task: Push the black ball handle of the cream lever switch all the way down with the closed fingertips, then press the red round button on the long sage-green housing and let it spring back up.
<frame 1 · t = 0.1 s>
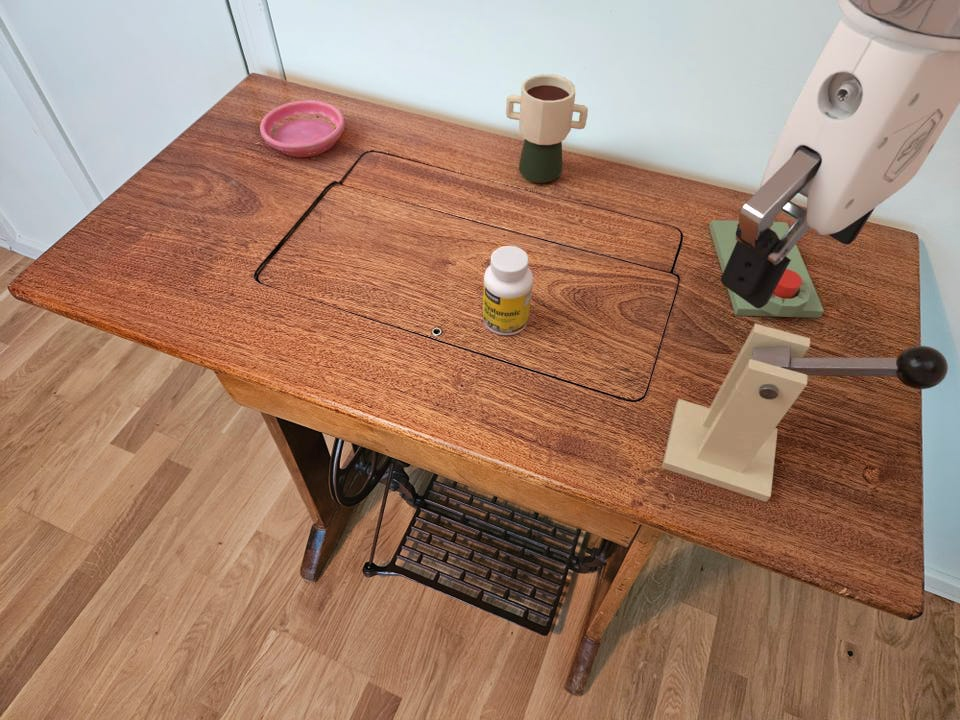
hand: (787, 262, 41), 26 cm above the table, tool pointing down, fingers open, 9 cm apart
supplement bottle: (505, 320, 73), on the table
button: (784, 283, 72), point 3 cm above the table, slide at 0.1 cm
button box: (760, 269, 78), on the table
switch bracket: (718, 451, 62), on the table
lever: (843, 366, 48), point 16 cm above the table, hinge at 25.0°
saucer: (306, 141, 95), on the table
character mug: (539, 174, 90), on the table
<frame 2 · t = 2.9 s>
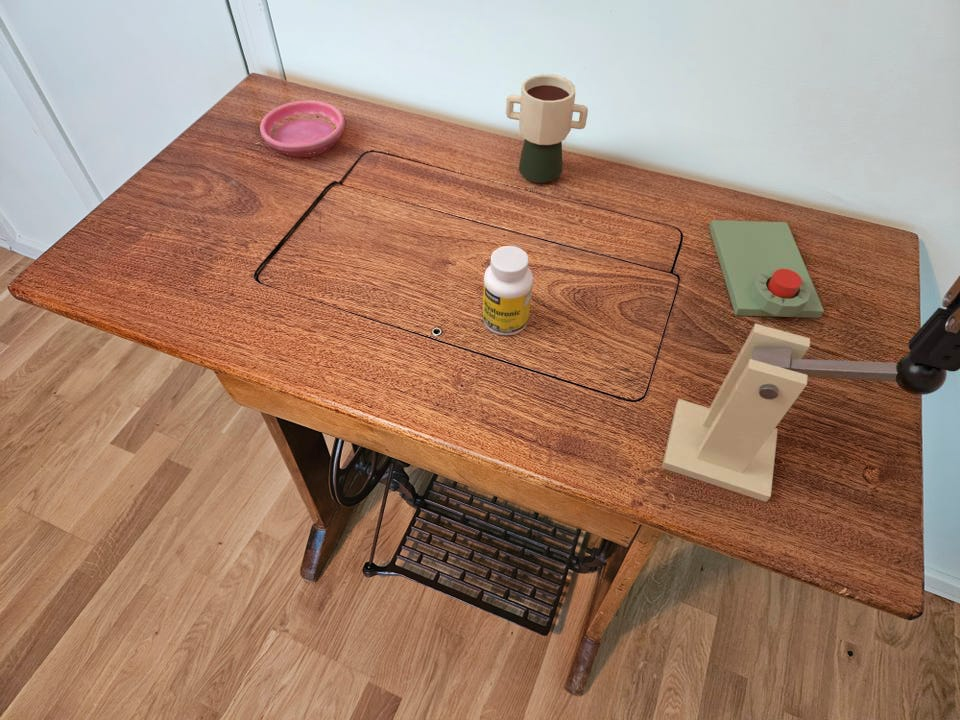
hand: (930, 357, 45), 19 cm above the table, tool pointing down, fingers closed
lever: (843, 369, 48), point 16 cm above the table, hinge at 21.1°
everything else where it was.
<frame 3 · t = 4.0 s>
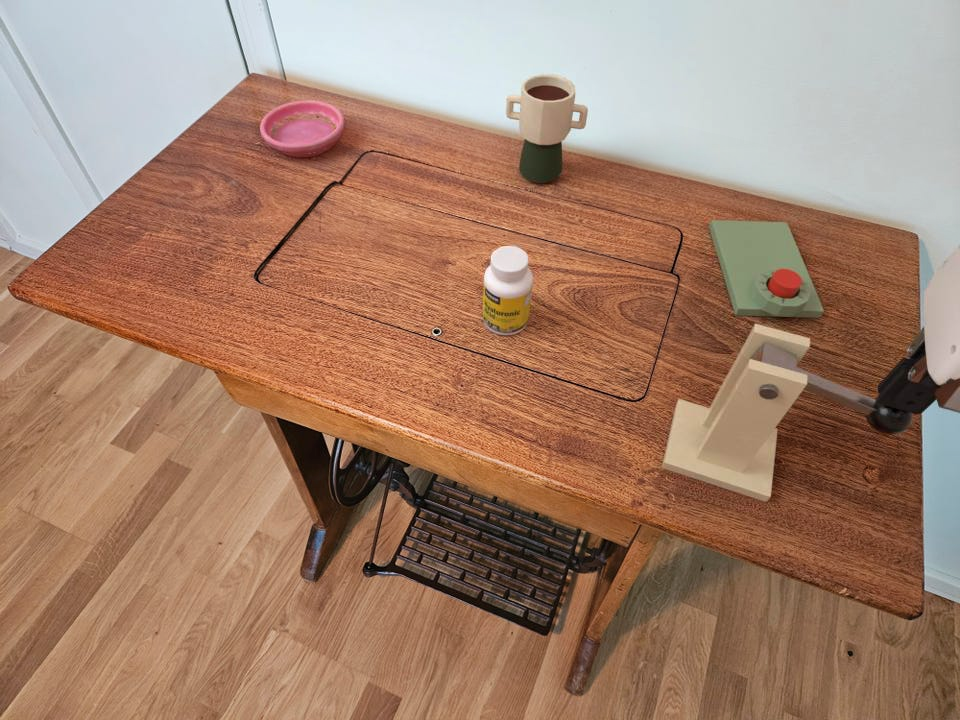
hand: (897, 400, 49), 14 cm above the table, tool pointing down, fingers closed
lever: (831, 390, 51), point 13 cm above the table, hinge at -10.2°, touching gripper
everything else where it was.
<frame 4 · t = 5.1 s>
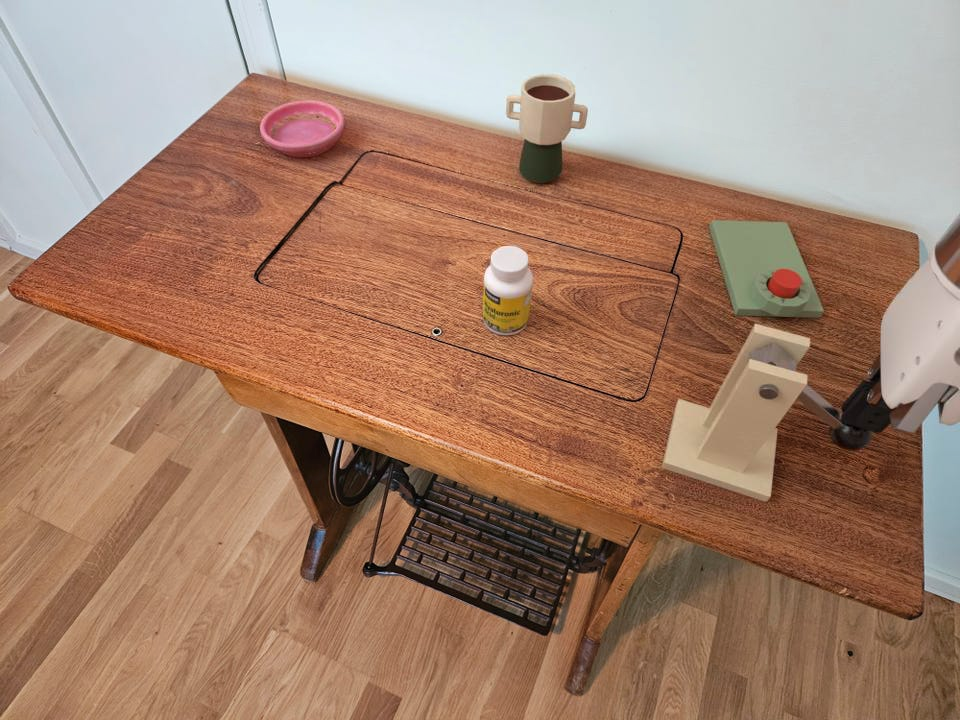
hand: (860, 419, 52), 10 cm above the table, tool pointing down, fingers closed
lever: (812, 400, 52), point 11 cm above the table, hinge at -31.8°, touching gripper
everything else where it was.
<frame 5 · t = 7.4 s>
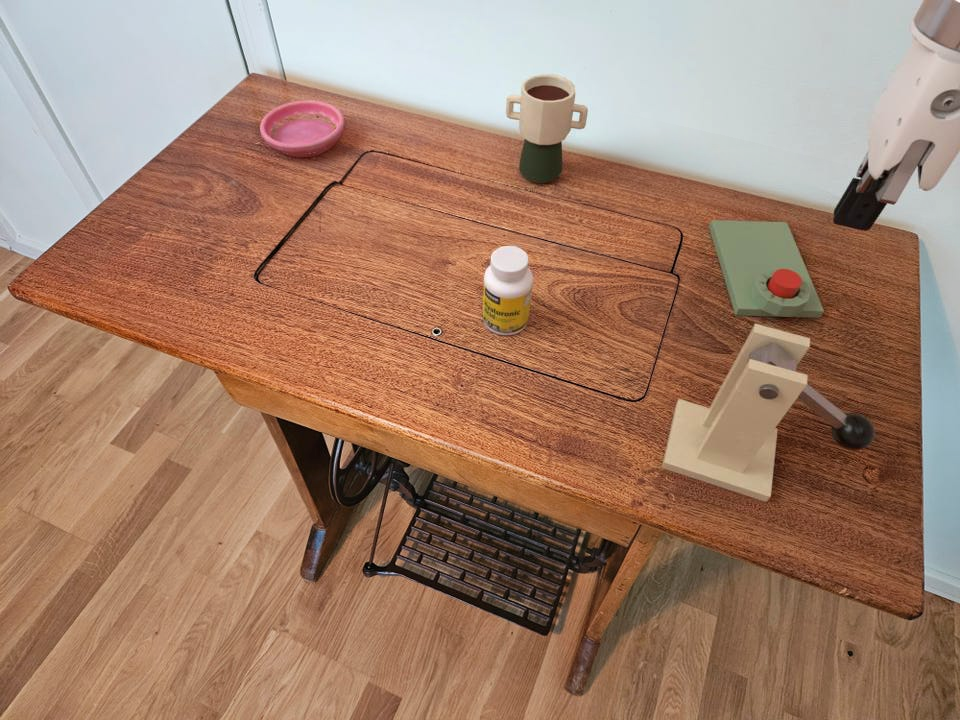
hand: (850, 221, 58), 17 cm above the table, tool pointing down, fingers closed
lever: (813, 400, 52), point 11 cm above the table, hinge at -30.5°
everything else where it was.
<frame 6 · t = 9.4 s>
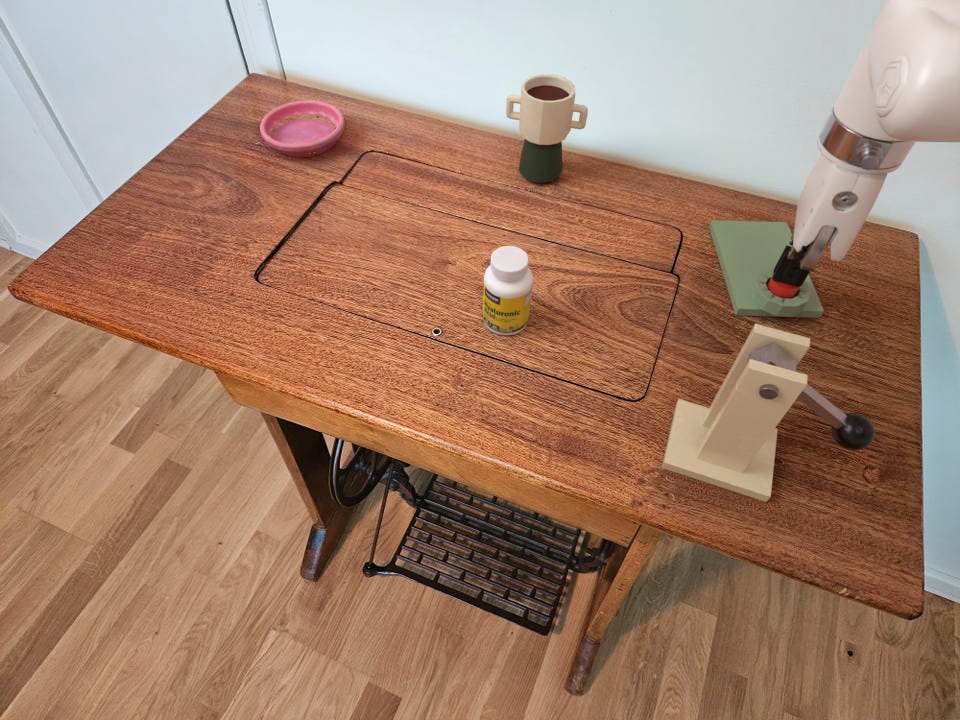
hand: (786, 279, 71), 4 cm above the table, tool pointing down, fingers closed
button: (783, 285, 72), point 3 cm above the table, slide at -0.2 cm, touching gripper
everything else where it was.
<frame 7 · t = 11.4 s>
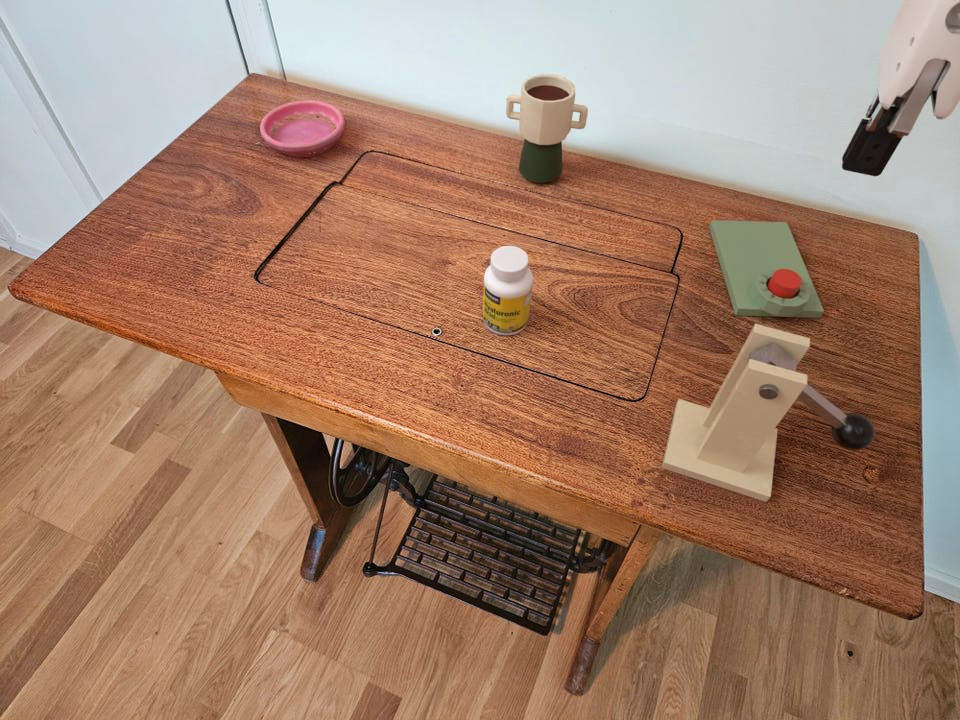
hand: (859, 168, 55), 22 cm above the table, tool pointing down, fingers closed
button: (784, 283, 72), point 4 cm above the table, slide at 0.1 cm
everything else where it was.
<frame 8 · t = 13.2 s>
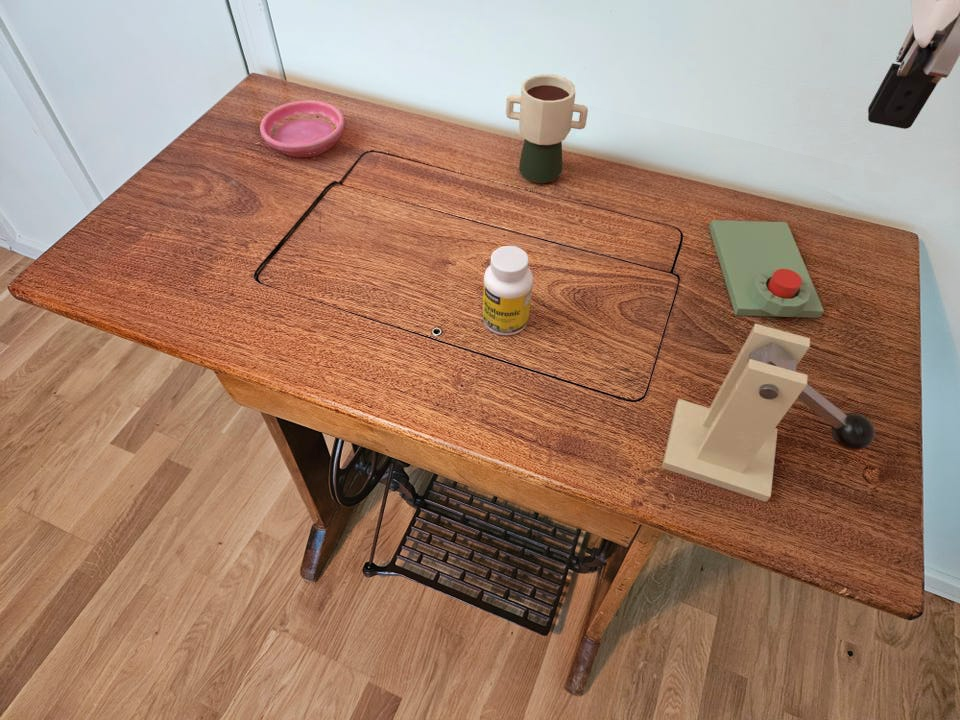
hand: (887, 119, 50), 27 cm above the table, tool pointing down, fingers closed
nothing on the table moved.
at the end: lever at -30° (first picture: +25°); button pushed in 1.1 cm at the most during the clip, back to where it started at the end; button slide at 0.1 cm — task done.
